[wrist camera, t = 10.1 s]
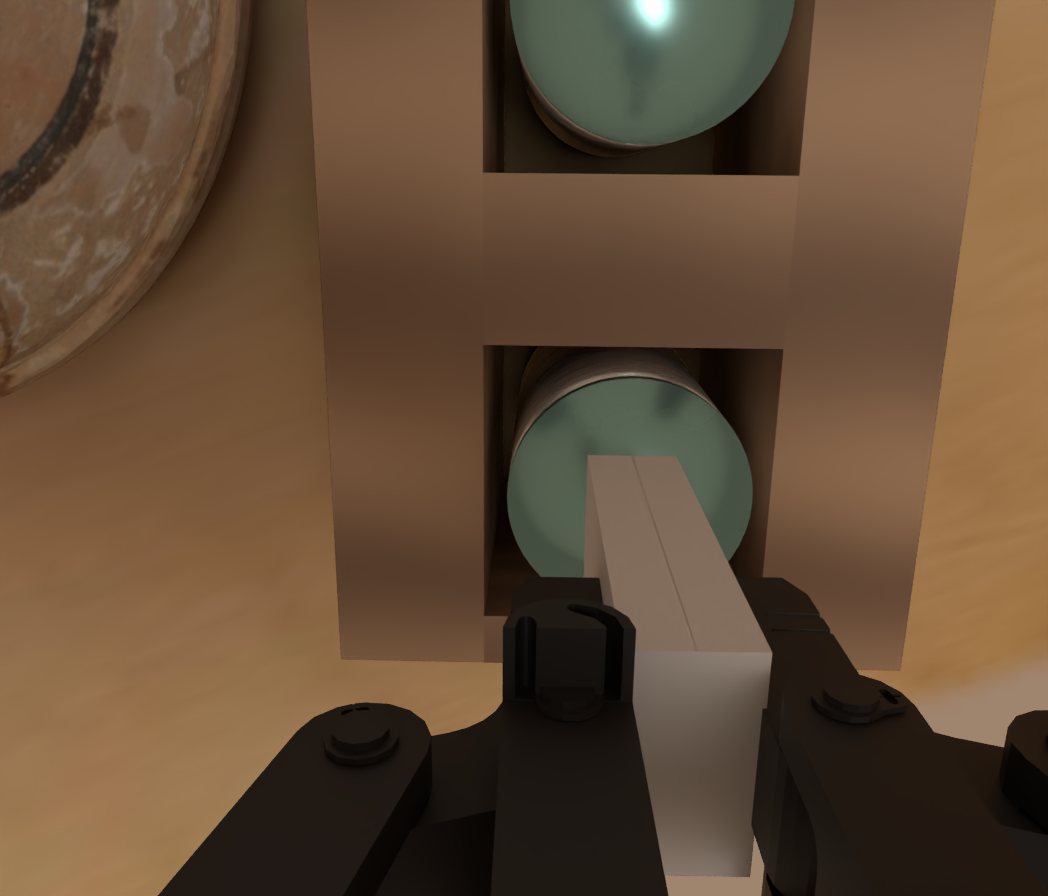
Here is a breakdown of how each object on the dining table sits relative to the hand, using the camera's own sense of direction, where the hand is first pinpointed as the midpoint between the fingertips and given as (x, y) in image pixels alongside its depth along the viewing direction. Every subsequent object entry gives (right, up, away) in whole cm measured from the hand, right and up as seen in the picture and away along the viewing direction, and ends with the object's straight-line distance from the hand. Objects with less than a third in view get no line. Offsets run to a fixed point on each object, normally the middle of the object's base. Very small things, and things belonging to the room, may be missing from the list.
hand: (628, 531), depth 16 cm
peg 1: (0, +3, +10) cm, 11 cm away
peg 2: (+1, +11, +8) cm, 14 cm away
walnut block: (+1, +7, +10) cm, 13 cm away
